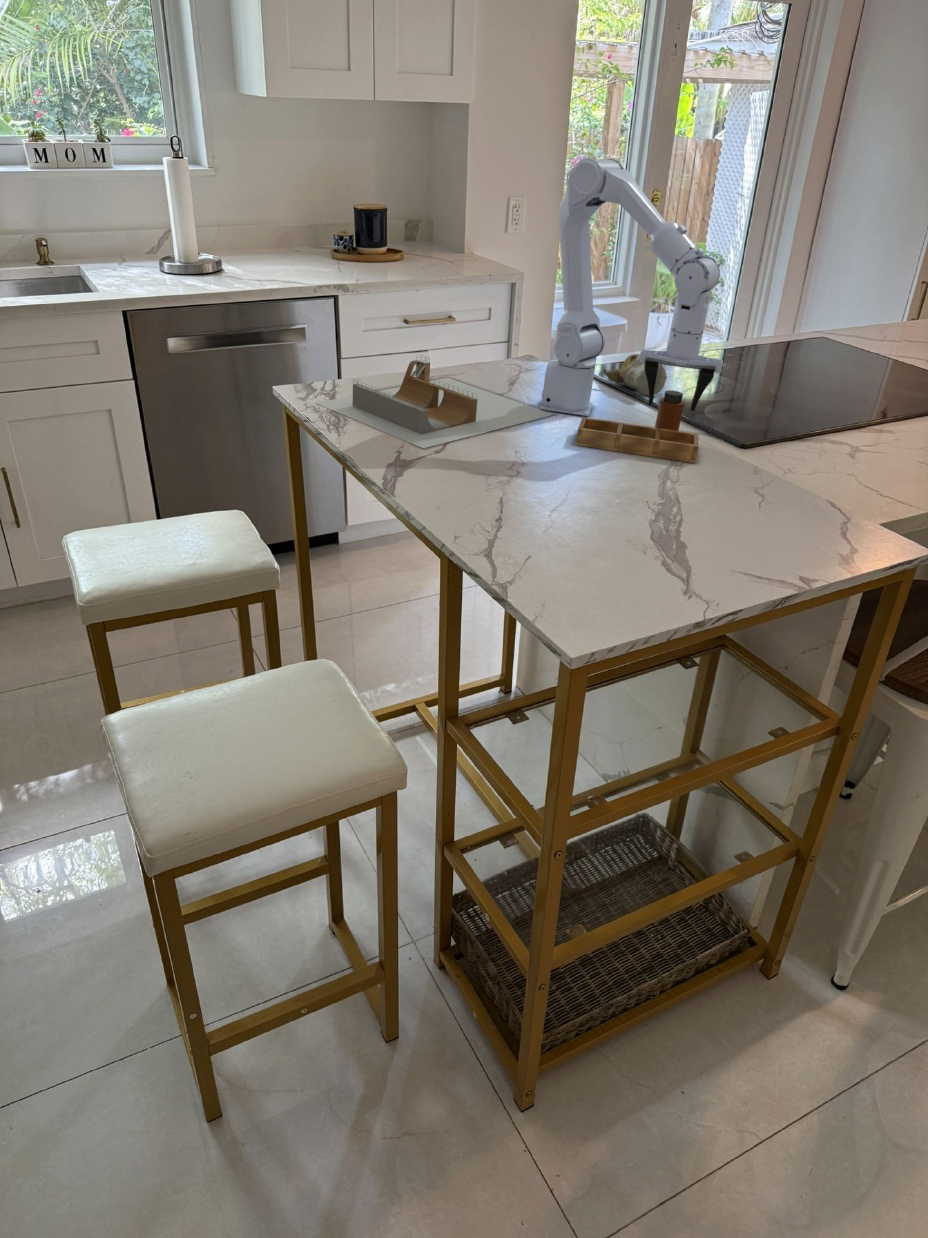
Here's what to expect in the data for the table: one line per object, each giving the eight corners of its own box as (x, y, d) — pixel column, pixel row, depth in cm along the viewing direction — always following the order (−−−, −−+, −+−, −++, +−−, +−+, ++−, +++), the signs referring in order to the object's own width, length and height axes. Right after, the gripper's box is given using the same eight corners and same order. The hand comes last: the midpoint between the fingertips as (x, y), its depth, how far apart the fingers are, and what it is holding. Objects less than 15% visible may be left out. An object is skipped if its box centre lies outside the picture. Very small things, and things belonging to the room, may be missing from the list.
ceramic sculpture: (640, 356, 180) (604, 343, 192) (634, 399, 184) (598, 383, 196) (684, 356, 183) (645, 343, 196) (677, 398, 187) (639, 382, 200)
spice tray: (575, 444, 156) (577, 428, 154) (580, 432, 162) (582, 416, 161) (695, 463, 153) (698, 446, 151) (694, 449, 159) (698, 433, 157)
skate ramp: (315, 402, 164) (315, 362, 161) (447, 377, 187) (450, 341, 183) (423, 448, 148) (426, 404, 144) (554, 414, 170) (559, 375, 167)
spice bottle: (653, 436, 164) (661, 394, 160) (654, 429, 167) (662, 387, 163) (677, 440, 163) (686, 397, 159) (677, 433, 167) (686, 391, 163)
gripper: (644, 329, 153) (630, 406, 160) (729, 340, 151) (711, 417, 158) (646, 322, 159) (633, 396, 166) (727, 332, 157) (711, 407, 164)
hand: (671, 406), depth 162 cm, fingers open, 7 cm apart
